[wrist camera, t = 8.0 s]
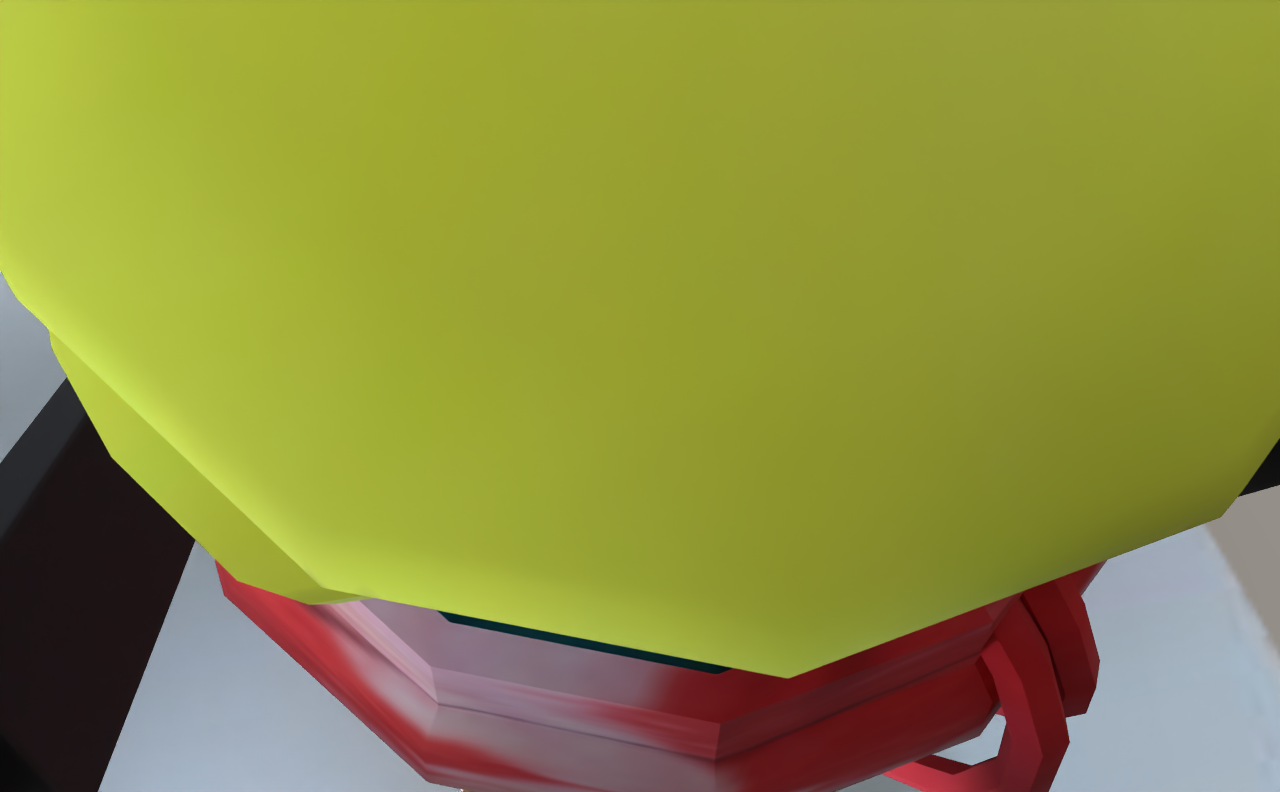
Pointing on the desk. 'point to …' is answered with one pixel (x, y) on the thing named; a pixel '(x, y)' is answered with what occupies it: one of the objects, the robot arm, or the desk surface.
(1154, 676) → the desk surface
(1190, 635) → the desk surface
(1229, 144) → the water bottle
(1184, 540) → the desk surface
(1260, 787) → the desk surface
